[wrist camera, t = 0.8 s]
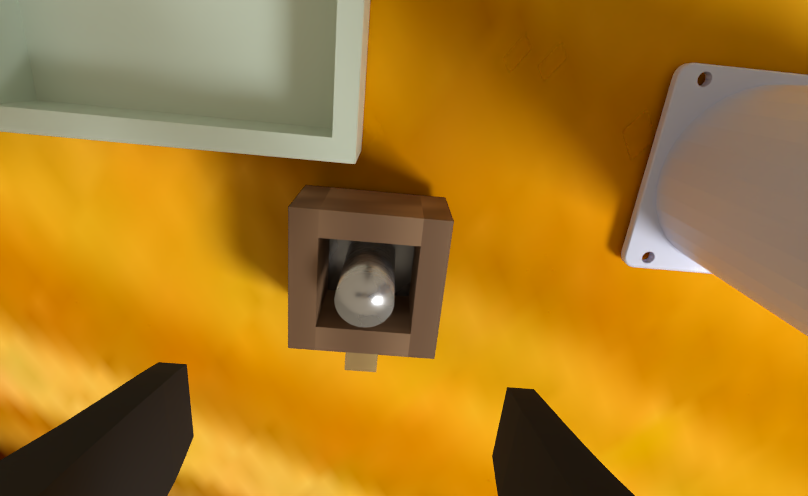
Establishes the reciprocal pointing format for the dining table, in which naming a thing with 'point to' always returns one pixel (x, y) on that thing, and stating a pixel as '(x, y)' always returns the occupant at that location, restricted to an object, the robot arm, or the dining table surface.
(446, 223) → the ring
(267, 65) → the tray
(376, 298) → the grey piece
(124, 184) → the dining table surface
